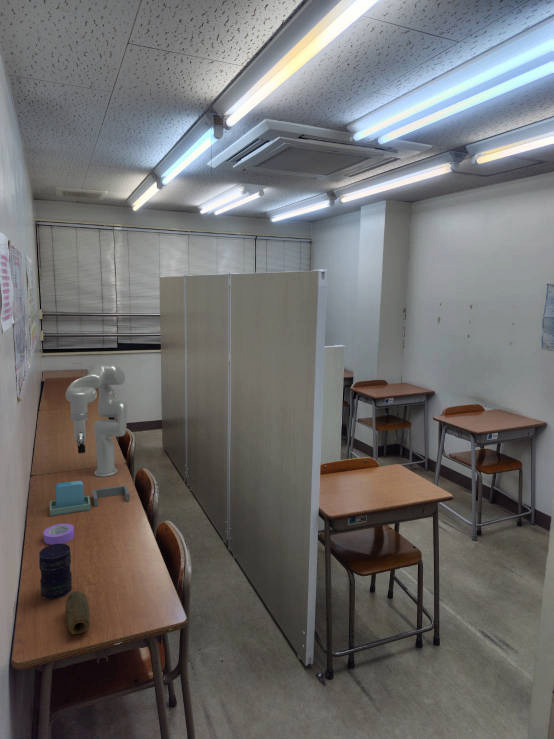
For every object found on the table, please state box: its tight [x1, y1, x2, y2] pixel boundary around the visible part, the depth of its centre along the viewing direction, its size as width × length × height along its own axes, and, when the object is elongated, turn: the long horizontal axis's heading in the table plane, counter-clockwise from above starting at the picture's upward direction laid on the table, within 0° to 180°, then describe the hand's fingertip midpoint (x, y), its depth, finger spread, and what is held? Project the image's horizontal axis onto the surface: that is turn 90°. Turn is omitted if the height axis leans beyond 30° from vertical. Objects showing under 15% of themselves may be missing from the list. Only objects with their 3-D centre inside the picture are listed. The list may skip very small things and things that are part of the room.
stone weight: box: [65, 590, 91, 635], centre depth 148 cm, size 15×7×7 cm, turn 31°
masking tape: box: [43, 523, 75, 546], centre depth 199 cm, size 12×12×4 cm
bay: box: [92, 484, 131, 507], centre depth 237 cm, size 12×16×4 cm
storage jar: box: [38, 543, 73, 600], centre depth 162 cm, size 10×10×15 cm
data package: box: [55, 480, 85, 508], centre depth 225 cm, size 12×4×12 cm, turn 114°
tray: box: [49, 495, 92, 517], centre depth 226 cm, size 11×18×3 cm, turn 115°
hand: (81, 449), depth 231 cm, fingers open, 9 cm apart
